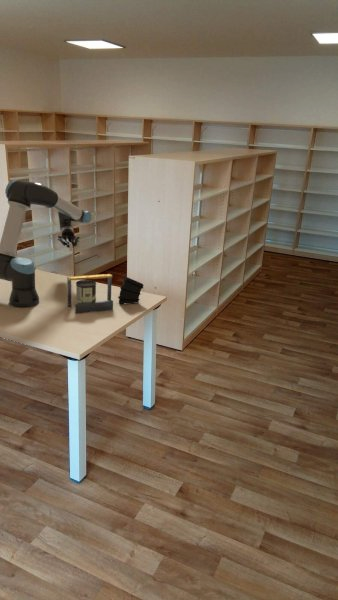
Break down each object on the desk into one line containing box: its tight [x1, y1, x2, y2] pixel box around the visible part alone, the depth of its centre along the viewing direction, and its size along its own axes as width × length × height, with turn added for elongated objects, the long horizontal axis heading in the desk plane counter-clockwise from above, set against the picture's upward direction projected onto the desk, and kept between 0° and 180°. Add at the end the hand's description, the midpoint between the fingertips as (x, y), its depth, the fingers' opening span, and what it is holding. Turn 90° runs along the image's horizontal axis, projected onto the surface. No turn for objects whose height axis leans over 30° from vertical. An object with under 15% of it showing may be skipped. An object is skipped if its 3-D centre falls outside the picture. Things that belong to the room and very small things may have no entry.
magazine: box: [117, 276, 144, 305], centre depth 242 cm, size 4×13×15 cm, turn 114°
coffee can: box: [75, 279, 97, 303], centre depth 229 cm, size 10×10×14 cm
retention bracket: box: [66, 273, 114, 315], centre depth 229 cm, size 24×11×16 cm, turn 116°
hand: (71, 248), depth 247 cm, fingers closed
